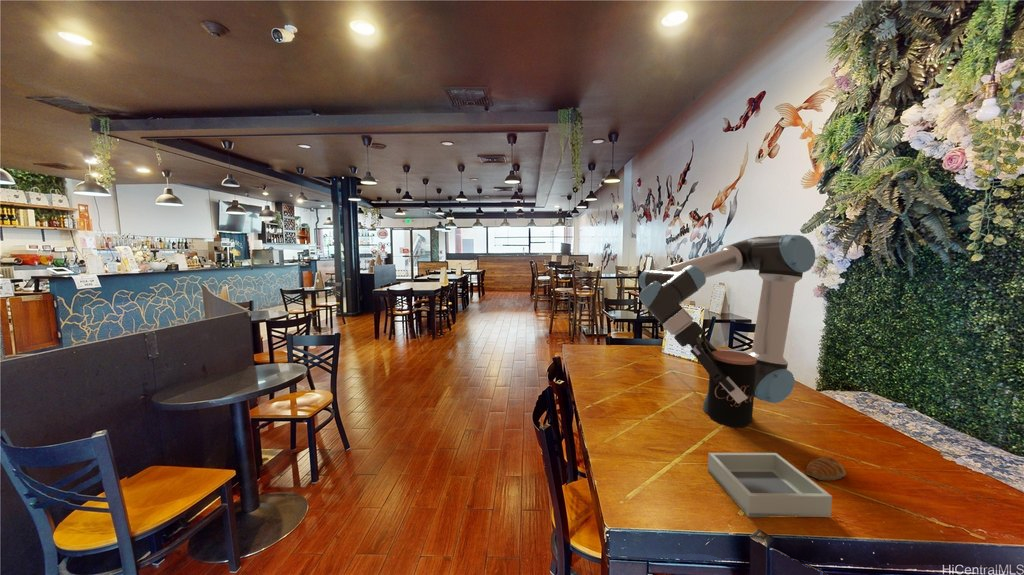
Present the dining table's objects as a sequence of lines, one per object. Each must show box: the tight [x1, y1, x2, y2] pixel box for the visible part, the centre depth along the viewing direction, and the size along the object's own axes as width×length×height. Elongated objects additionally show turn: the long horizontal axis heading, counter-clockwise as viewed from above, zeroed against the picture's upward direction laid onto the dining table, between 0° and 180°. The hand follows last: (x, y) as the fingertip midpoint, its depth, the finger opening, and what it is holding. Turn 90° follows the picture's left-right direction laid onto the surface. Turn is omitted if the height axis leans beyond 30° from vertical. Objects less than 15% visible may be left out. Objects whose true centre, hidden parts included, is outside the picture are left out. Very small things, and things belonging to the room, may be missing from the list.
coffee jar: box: [706, 350, 757, 429], centre depth 100 cm, size 11×11×18 cm
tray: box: [707, 452, 833, 519], centre depth 91 cm, size 18×18×5 cm
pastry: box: [805, 456, 847, 481], centre depth 98 cm, size 9×7×4 cm
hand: (743, 393), depth 99 cm, fingers closed on coffee jar, 10 cm apart
